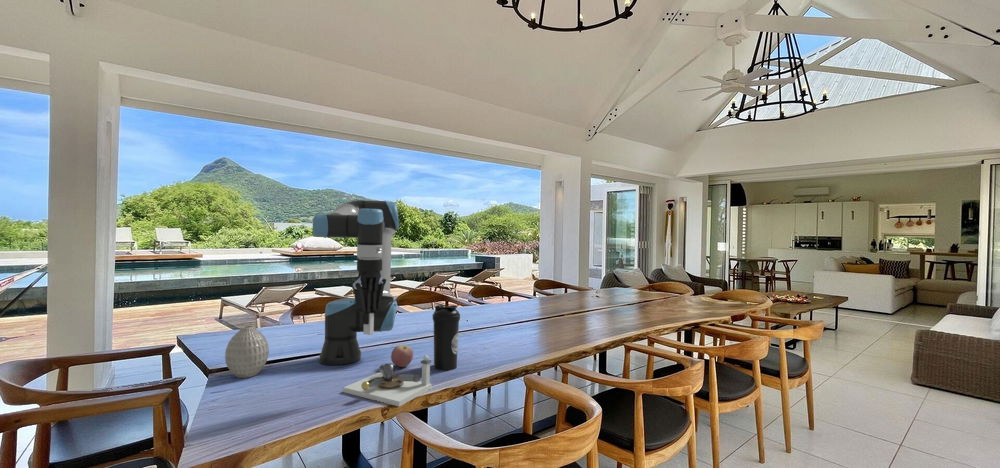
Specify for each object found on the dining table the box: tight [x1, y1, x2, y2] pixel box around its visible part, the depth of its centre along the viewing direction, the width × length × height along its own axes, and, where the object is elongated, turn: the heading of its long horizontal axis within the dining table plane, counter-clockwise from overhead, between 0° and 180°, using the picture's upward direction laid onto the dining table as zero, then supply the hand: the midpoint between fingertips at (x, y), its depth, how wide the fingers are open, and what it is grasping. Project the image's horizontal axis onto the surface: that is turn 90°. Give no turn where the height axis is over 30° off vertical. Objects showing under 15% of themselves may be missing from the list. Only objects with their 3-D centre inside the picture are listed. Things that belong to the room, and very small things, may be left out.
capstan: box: [361, 362, 421, 390], centre depth 131 cm, size 16×18×6 cm
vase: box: [224, 324, 270, 379], centre depth 144 cm, size 13×13×17 cm
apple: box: [390, 344, 414, 368], centre depth 156 cm, size 8×8×8 cm
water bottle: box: [432, 304, 461, 372], centre depth 157 cm, size 10×10×23 cm
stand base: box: [343, 355, 433, 408], centre depth 133 cm, size 22×16×11 cm
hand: (368, 333), depth 131 cm, fingers closed
